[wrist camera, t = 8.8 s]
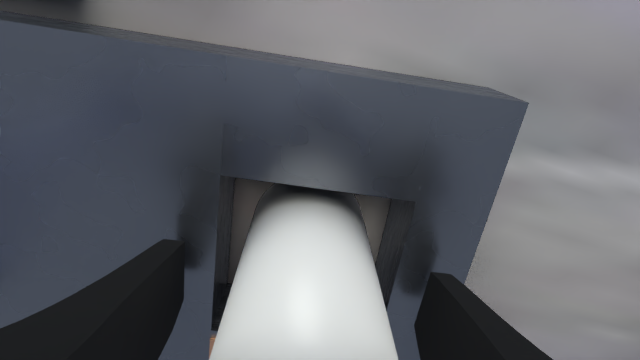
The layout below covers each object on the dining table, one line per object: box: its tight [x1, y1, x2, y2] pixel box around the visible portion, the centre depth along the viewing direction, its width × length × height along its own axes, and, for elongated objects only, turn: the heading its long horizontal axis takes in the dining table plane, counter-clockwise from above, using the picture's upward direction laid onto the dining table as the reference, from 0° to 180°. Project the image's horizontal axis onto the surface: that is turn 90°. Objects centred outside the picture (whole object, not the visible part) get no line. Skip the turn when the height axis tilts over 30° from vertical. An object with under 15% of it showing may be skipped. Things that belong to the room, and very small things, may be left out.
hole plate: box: [0, 10, 529, 360], centre depth 13 cm, size 16×12×3 cm
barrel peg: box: [209, 183, 398, 360], centre depth 11 cm, size 4×4×7 cm
